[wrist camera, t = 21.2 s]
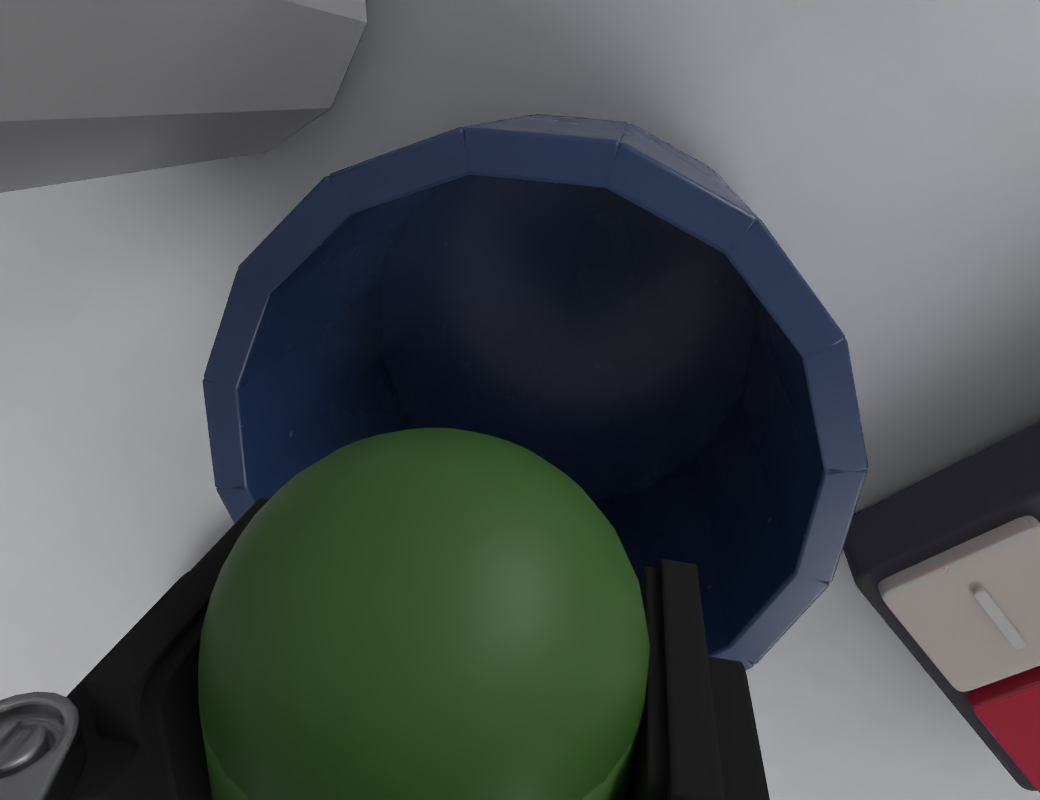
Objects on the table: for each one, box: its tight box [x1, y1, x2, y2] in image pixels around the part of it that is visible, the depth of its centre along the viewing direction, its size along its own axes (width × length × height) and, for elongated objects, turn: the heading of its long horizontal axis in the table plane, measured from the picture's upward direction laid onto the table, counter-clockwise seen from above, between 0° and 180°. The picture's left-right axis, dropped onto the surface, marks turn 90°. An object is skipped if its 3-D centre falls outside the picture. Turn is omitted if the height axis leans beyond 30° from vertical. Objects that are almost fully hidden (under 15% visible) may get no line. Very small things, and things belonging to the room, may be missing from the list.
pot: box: [203, 114, 868, 670], centre depth 19 cm, size 14×14×10 cm
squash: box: [198, 428, 650, 800], centre depth 9 cm, size 9×5×5 cm, turn 176°
